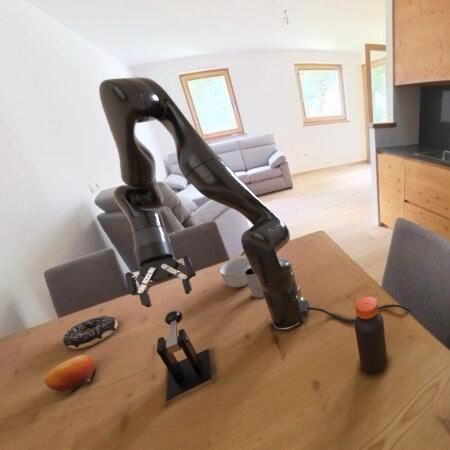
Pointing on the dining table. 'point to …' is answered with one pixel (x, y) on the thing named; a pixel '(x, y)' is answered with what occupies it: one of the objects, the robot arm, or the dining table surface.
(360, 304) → the bottle
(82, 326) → the donut
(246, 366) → the dining table surface
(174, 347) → the lever
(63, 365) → the fruit
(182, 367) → the bracket
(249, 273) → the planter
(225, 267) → the teacup
